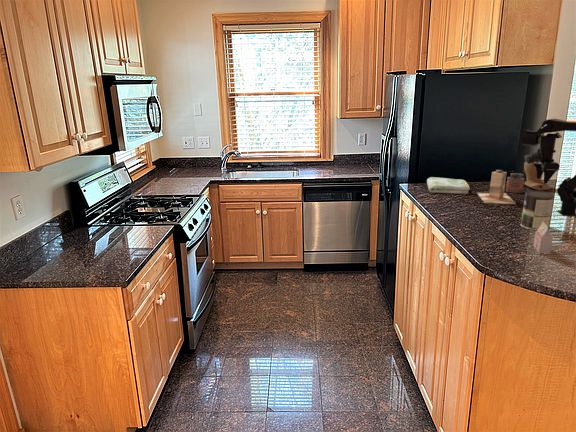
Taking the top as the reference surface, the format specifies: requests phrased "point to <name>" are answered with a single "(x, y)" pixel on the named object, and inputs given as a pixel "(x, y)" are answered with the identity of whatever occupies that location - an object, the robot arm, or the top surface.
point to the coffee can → (536, 209)
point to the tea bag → (543, 239)
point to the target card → (504, 200)
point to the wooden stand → (534, 178)
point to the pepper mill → (497, 184)
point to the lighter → (515, 183)
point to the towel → (447, 185)
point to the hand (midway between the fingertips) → (541, 181)
